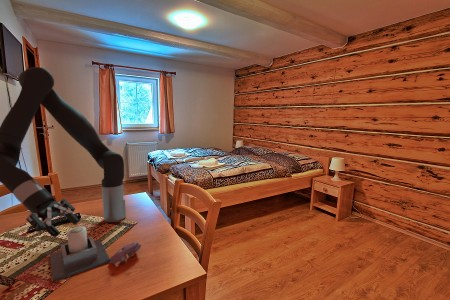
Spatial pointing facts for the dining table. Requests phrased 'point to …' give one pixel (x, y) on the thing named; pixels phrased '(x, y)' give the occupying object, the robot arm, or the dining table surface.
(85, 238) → the paper roll
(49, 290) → the dining table surface
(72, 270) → the roll holder
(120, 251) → the video game controller
